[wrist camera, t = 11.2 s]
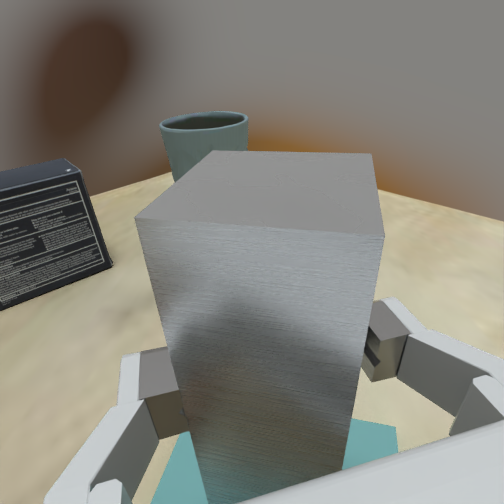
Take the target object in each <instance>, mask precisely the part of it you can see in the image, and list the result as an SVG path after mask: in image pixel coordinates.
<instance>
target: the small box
mask: <svg viewBox="0 0 504 504" xmlns="http://www.w3.org/2000/svg"><path fill="white" fill-rule="evenodd" d="M112 264H113V262H112V260H111V258H110V257H109V254H108V251H107V248H106V245H105V242H104V239H103V236H102V233H101V229H100V227H99V224H98V221H97V218H96V215H95V212H94V209H93V206H92V203H91V200H90V197H89V194H88V192H87V189H86V186H85V183H84V179H83V176H82V172H81V170H79V169H78V168H77V167H75V166H74V165H72V164H71V163H70V162H69V161H67V160H66V159H64V158H62V159H57V160H52V161H48V162H43V163H39V164H34V165H29V166H25V167H20V168H15V169H11V170H6V171H2V172H0V310H4V309H6V308H9V307H11V306H14V305H16V304H19V303H21V302H24V301H26V300H29V299H31V298H34V297H36V296H39V295H41V294H44V293H46V292H49V291H51V290H54V289H57V288H59V287H62V286H64V285H67V284H69V283H72V282H74V281H77V280H79V279H82V278H84V277H87V276H89V275H92V274H94V273H97V272H99V271H102V270H105V269H107V268H110V267H112Z"/></svg>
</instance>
